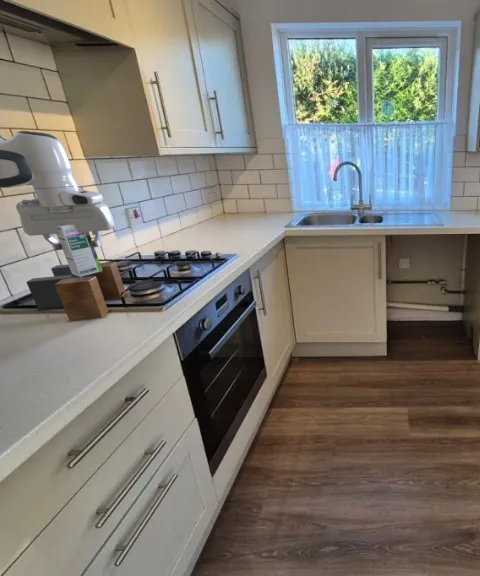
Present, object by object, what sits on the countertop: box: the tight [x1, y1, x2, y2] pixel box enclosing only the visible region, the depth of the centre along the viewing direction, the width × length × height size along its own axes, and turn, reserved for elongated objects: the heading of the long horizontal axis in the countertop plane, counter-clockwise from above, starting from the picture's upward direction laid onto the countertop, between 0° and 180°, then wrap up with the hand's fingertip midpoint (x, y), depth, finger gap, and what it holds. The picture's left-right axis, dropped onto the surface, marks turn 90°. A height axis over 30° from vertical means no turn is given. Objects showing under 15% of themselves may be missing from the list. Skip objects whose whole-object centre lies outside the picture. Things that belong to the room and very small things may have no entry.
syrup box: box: [56, 224, 102, 277], centre depth 101 cm, size 6×6×14 cm
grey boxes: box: [25, 264, 81, 311], centre depth 113 cm, size 10×15×9 cm, turn 14°
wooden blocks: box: [54, 261, 127, 322], centre depth 106 cm, size 8×17×11 cm, turn 14°
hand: (78, 248), depth 101 cm, fingers closed on syrup box, 8 cm apart
